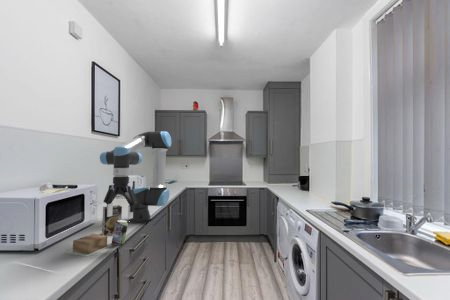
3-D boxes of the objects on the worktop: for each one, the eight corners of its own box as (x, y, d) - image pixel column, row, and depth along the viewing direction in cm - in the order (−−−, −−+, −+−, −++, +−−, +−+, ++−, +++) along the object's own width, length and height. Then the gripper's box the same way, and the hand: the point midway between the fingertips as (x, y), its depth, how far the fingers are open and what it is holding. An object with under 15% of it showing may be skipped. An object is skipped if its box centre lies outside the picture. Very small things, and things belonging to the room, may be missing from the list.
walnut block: (92, 243, 111) (92, 233, 111) (106, 246, 108) (107, 235, 108) (72, 251, 102) (73, 240, 102) (88, 254, 98) (88, 243, 99)
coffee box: (103, 237, 121) (104, 208, 122) (101, 234, 126) (102, 206, 126) (121, 234, 127) (122, 206, 127) (118, 231, 132) (119, 204, 132)
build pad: (92, 242, 114) (92, 241, 114) (113, 246, 109) (113, 245, 109) (65, 253, 100) (65, 252, 100) (87, 258, 96) (87, 256, 96)
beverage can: (109, 244, 111) (110, 220, 112) (124, 240, 116) (125, 218, 117) (114, 248, 107) (114, 223, 107) (129, 244, 112) (129, 220, 112)
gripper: (96, 176, 114) (95, 217, 112) (135, 177, 105) (133, 221, 104) (108, 175, 121) (107, 213, 119) (145, 176, 112) (144, 217, 111)
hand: (119, 217), depth 112 cm, fingers open, 13 cm apart
